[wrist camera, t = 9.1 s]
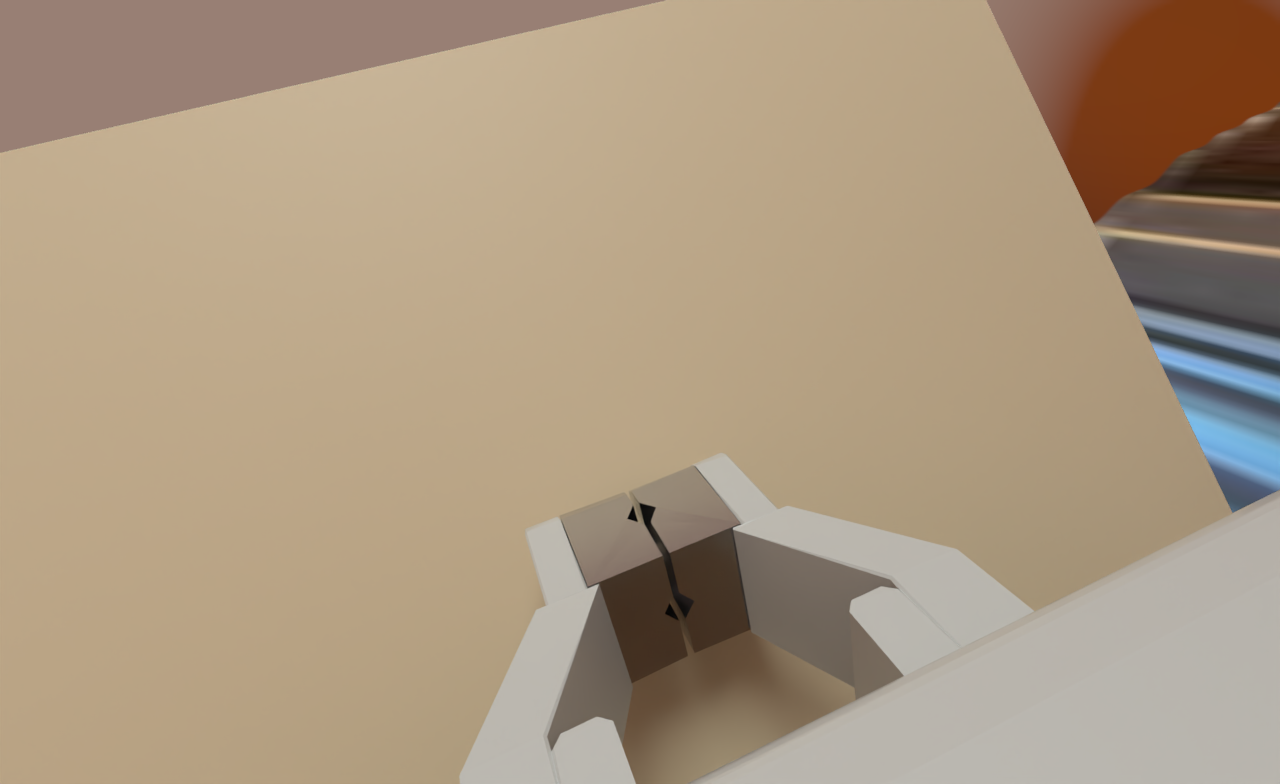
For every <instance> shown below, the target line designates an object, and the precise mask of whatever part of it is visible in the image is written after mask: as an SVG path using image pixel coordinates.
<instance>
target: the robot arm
mask: <svg viewBox="0 0 1280 784" xmlns="http://www.w3.org/2000/svg"><path fill="white" fill-rule="evenodd" d="M629 495H630V499H629V497H628V496H627V494H626V493H624V492H623V493H620V494H618V495H615V496H612V497H609V498H607V499H604V500H601V501H598V502H596V503H593V504H590V505H587V506H585V507H582V508H579V509H576V510H574V511H571V512H568V513H565V514H563V515H560V519H561V520H560V519H559V518H558V517H555V518H552V519H549V520H547V521H544V522H542V523H539V524H536V525H534V526H531V527H529V528H526V529H525V537H526V540H527V543H528V547H529V550H530V554H531V557H532V560H533V564H534V567H535V571H536V574H537V577H538V581H539V584H540V588H541V591H542V594H543V598H544V601H545V605H546V606H544V607H542V608H539V609H537V610H536V611H535V613H534V615H533V617H532V619H531V621H530V623H529V626H528V628H527V630H526V632H525V634H524V636H523V639H522V641H521V643H520V645H519V647H518V649H517V652H516V654H515V656H514V658H513V660H512V662H511V665H510V667H509V669H508V671H507V673H506V676H505V678H504V680H503V682H502V684H501V686H500V689H499V691H498V693H497V695H496V697H495V699H494V702H493V704H492V706H491V708H490V710H489V712H488V715H487V717H486V719H485V721H484V723H483V726H482V728H481V730H480V732H479V734H478V736H477V739H476V741H475V743H474V745H473V747H472V749H471V752H470V754H469V756H468V758H467V760H466V762H465V765H464V767H463V769H462V771H461V773H460V775H459V778H460V784H636V782H635V780H634V777H633V774H632V771H631V769H630V766H629V763H628V760H627V758H626V755H625V752H624V749H623V747H622V744H623V738H624V733H625V728H626V722H627V717H628V711H629V706H630V701H631V695H632V690H633V685H632V683H634V682H636V681H638V680H640V679H642V678H644V677H646V676H648V675H650V674H652V673H654V672H656V671H658V670H660V669H662V668H664V667H666V666H668V665H670V664H673V663H675V662H677V661H679V660H681V659H683V658H685V657H687V656H688V654H687V649H686V645H685V641H684V637H683V633H684V635H685V637H686V638H687V640H688V642H689V644H690V646H691V647H692V649H693V651H694V653H696V652H698V651H701V650H703V649H705V648H708V647H710V646H713V645H715V644H717V643H720V642H722V641H724V640H727V639H729V638H732V637H734V636H736V635H739V634H741V633H744V632H746V631H748V630H751V632H752V633H754V634H756V635H757V636H759V637H761V638H763V639H765V640H767V641H769V642H770V643H772V644H774V645H776V646H778V647H780V648H782V649H783V650H785V651H787V652H789V653H791V654H793V655H795V656H796V657H798V658H800V659H802V660H804V661H806V662H808V663H809V664H811V665H813V666H815V667H817V668H819V669H821V670H822V671H824V672H826V673H828V674H830V675H832V676H834V677H835V678H837V679H839V680H841V681H843V682H845V683H847V684H848V685H850V686H852V687H854V688H855V697H856V700H855V701H853V702H851V703H849V704H847V705H845V706H843V707H841V708H839V709H837V710H835V711H833V712H831V713H829V714H827V715H825V716H823V717H821V718H818V719H816V720H814V721H812V722H810V723H808V724H806V725H804V726H802V727H800V728H798V729H796V730H794V731H792V732H790V733H788V734H786V735H784V736H782V737H780V738H778V739H776V740H774V741H772V742H770V743H768V744H766V745H764V746H762V747H760V748H758V749H756V750H754V751H752V752H750V753H748V754H746V755H744V756H742V757H740V758H738V759H736V760H734V761H732V762H730V763H728V764H726V765H724V766H722V767H720V768H718V769H716V770H714V771H712V772H710V773H707V774H705V775H703V776H701V777H699V778H697V779H695V780H693V781H691V782H689V783H687V784H1280V490H1278V491H1276V492H1274V493H1272V494H1270V495H1268V496H1266V497H1264V498H1262V499H1260V500H1258V501H1256V502H1254V503H1252V504H1250V505H1248V506H1246V507H1244V508H1242V509H1240V510H1238V511H1236V512H1234V513H1232V514H1230V515H1228V516H1226V517H1224V518H1222V519H1220V520H1218V521H1216V522H1214V523H1212V524H1210V525H1208V526H1206V527H1204V528H1202V529H1200V530H1198V531H1196V532H1194V533H1192V534H1190V535H1188V536H1186V537H1184V538H1182V539H1180V540H1177V541H1175V542H1173V543H1171V544H1169V545H1167V546H1165V547H1163V548H1161V549H1159V550H1157V551H1155V552H1153V553H1151V554H1149V555H1147V556H1145V557H1143V558H1141V559H1139V560H1137V561H1135V562H1133V563H1131V564H1129V565H1127V566H1125V567H1123V568H1121V569H1119V570H1117V571H1115V572H1113V573H1111V574H1109V575H1107V576H1105V577H1103V578H1101V579H1099V580H1097V581H1095V582H1093V583H1091V584H1089V585H1087V586H1085V587H1083V588H1081V589H1079V590H1076V591H1074V592H1072V593H1070V594H1068V595H1066V596H1064V597H1062V598H1060V599H1058V600H1056V601H1054V602H1052V603H1050V604H1048V605H1046V606H1044V607H1042V608H1040V609H1038V610H1036V611H1034V610H1032V609H1031V608H1030V607H1029V606H1027V605H1026V604H1025V603H1024V602H1022V601H1021V600H1020V599H1019V598H1017V597H1016V596H1015V595H1014V594H1012V593H1011V592H1010V591H1009V590H1007V589H1006V588H1005V587H1004V586H1002V585H1001V584H1000V583H999V582H997V581H996V580H995V579H994V578H992V577H991V576H990V575H989V574H987V573H986V572H985V571H984V570H982V569H981V568H980V567H979V566H977V565H976V564H975V563H974V562H972V561H971V560H970V559H969V558H968V557H966V556H965V555H964V554H963V553H961V552H960V551H959V550H958V549H954V548H950V547H946V546H943V545H939V544H935V543H931V542H927V541H923V540H919V539H915V538H912V537H908V536H904V535H900V534H896V533H892V532H888V531H884V530H881V529H877V528H873V527H869V526H865V525H861V524H857V523H853V522H849V521H846V520H842V519H838V518H834V517H830V516H826V515H822V514H818V513H815V512H811V511H807V510H803V509H799V508H795V507H791V506H785V507H783V508H780V509H778V508H777V507H776V506H775V505H774V504H773V503H772V502H771V501H770V500H769V499H768V498H767V497H766V496H765V494H764V493H763V492H762V491H761V490H760V489H759V488H758V487H757V486H756V485H755V484H754V483H753V482H752V481H751V480H750V479H749V478H748V477H747V476H746V474H745V473H744V472H743V471H742V470H741V469H740V468H739V467H738V466H737V465H736V464H735V463H734V462H733V461H732V460H731V459H730V458H729V457H728V456H727V454H724V453H719V454H716V455H714V456H711V457H709V458H707V459H704V460H702V461H700V462H697V463H695V464H693V465H691V466H690V467H688V468H685V469H683V470H680V471H678V472H675V473H673V474H670V475H668V476H665V477H663V478H660V479H658V480H655V481H653V482H650V483H648V484H645V485H643V486H640V487H638V488H635V489H633V490H630V491H629ZM670 601H671V603H672V606H671V604H670ZM672 607H673V608H672ZM682 631H683V633H682Z"/></svg>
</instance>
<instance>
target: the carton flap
mask: <svg viewBox="0 0 1280 784" xmlns="http://www.w3.org/2000/svg"><path fill="white" fill-rule="evenodd" d="M719 453H724V454H727V456H728V457H729V458H730V459H731V460H732V461H733V462H734V463H735V464H736V465H737V466H738V467H739V468H740V469H741V470H742V471H743V472H744V473H745V474H746V476H747V477H748V478H749V479H750V480H751V481H752V482H753V483H754V484H755V485H756V486H757V487H758V488H759V489H760V490H761V491H762V492H763V493H764V494H765V496H766V497H767V498H768V499H769V500H770V501H771V502H772V503H773V504H774V505H775V506H776V507H777V508H778V509H780V508H783V507H785V506H791V507H795V508H799V509H803V510H807V511H811V512H815V513H818V514H822V515H826V516H830V517H834V518H838V519H842V520H846V521H849V522H853V523H857V524H861V525H865V526H869V527H873V528H877V529H881V530H884V531H888V532H892V533H896V534H900V535H904V536H908V537H912V538H915V539H919V540H923V541H927V542H931V543H935V544H939V545H943V546H946V547H950V548H954V549H958V550H959V551H960V552H961V553H963V554H964V555H965V556H966V557H968V558H969V559H970V560H971V561H972V562H974V563H975V564H976V565H977V566H979V567H980V568H981V569H982V570H984V571H985V572H986V573H987V574H989V575H990V576H991V577H992V578H994V579H995V580H996V581H997V582H999V583H1000V584H1001V585H1002V586H1004V587H1005V588H1006V589H1007V590H1009V591H1010V592H1011V593H1012V594H1014V595H1015V596H1016V597H1017V598H1019V599H1020V600H1021V601H1022V602H1024V603H1025V604H1026V605H1027V606H1029V607H1030V608H1031V609H1032V610H1034V611H1036V610H1038V609H1040V608H1042V607H1044V606H1046V605H1048V604H1050V603H1052V602H1054V601H1056V600H1058V599H1060V598H1062V597H1064V596H1066V595H1068V594H1070V593H1072V592H1074V591H1076V590H1079V589H1081V588H1083V587H1085V586H1087V585H1089V584H1091V583H1093V582H1095V581H1097V580H1099V579H1101V578H1103V577H1105V576H1107V575H1109V574H1111V573H1113V572H1115V571H1117V570H1119V569H1121V568H1123V567H1125V566H1127V565H1129V564H1131V563H1133V562H1135V561H1137V560H1139V559H1141V558H1143V557H1145V556H1147V555H1149V554H1151V553H1153V552H1155V551H1157V550H1159V549H1161V548H1163V547H1165V546H1167V545H1169V544H1171V543H1173V542H1175V541H1177V540H1180V539H1182V538H1184V537H1186V536H1188V535H1190V534H1192V533H1194V532H1196V531H1198V530H1200V529H1202V528H1204V527H1206V526H1208V525H1210V524H1212V523H1214V522H1216V521H1218V520H1220V519H1222V518H1224V517H1226V516H1228V515H1230V514H1232V511H1231V509H1230V507H1229V505H1228V503H1227V501H1226V499H1225V497H1224V494H1223V492H1222V490H1221V488H1220V486H1219V484H1218V482H1217V480H1216V478H1215V476H1214V474H1213V472H1212V470H1211V467H1210V465H1209V463H1208V461H1207V459H1206V457H1205V455H1204V453H1203V451H1202V449H1201V447H1200V445H1199V442H1198V440H1197V438H1196V436H1195V434H1194V432H1193V430H1192V428H1191V426H1190V424H1189V422H1188V420H1187V417H1186V415H1185V413H1184V411H1183V409H1182V407H1181V405H1180V403H1179V401H1178V399H1177V397H1176V395H1175V392H1174V390H1173V388H1172V386H1171V384H1170V382H1169V380H1168V378H1167V376H1166V374H1165V372H1164V370H1163V368H1162V365H1161V363H1160V361H1159V359H1158V357H1157V355H1156V353H1155V351H1154V349H1153V347H1152V345H1151V343H1150V340H1149V338H1148V336H1147V334H1146V332H1145V330H1144V328H1143V326H1142V324H1141V322H1140V320H1139V318H1138V315H1137V313H1136V311H1135V309H1134V307H1133V305H1132V303H1131V301H1130V299H1129V297H1128V295H1127V293H1126V290H1125V288H1124V286H1123V284H1122V282H1121V280H1120V278H1119V276H1118V274H1117V272H1116V270H1115V268H1114V266H1113V263H1112V261H1111V259H1110V257H1109V255H1108V253H1107V251H1106V249H1105V247H1104V245H1103V243H1102V241H1101V238H1100V236H1099V234H1098V232H1097V230H1096V228H1095V226H1094V224H1093V222H1092V220H1091V218H1090V216H1089V214H1088V211H1087V209H1086V207H1085V205H1084V203H1083V201H1082V199H1081V197H1080V195H1079V193H1078V191H1077V188H1076V186H1075V184H1074V182H1073V180H1072V178H1071V176H1070V174H1069V172H1068V170H1067V168H1066V166H1065V164H1064V161H1063V159H1062V157H1061V155H1060V153H1059V151H1058V149H1057V147H1056V145H1055V143H1054V141H1053V139H1052V136H1051V135H1050V132H1049V130H1048V128H1047V127H1046V124H1045V122H1044V120H1043V118H1042V116H1041V114H1040V112H1039V110H1038V107H1037V105H1036V103H1035V101H1034V99H1033V97H1032V95H1031V93H1030V91H1029V89H1028V87H1027V84H1026V82H1025V80H1024V78H1023V76H1022V74H1021V72H1020V70H1019V68H1018V66H1017V64H1016V61H1015V60H1014V57H1013V55H1012V53H1011V51H1010V49H1009V47H1008V45H1007V43H1006V41H1005V39H1004V37H1003V34H1002V32H1001V30H1000V28H999V26H998V24H997V22H996V20H995V18H994V16H993V14H992V12H991V10H990V7H989V5H988V3H987V2H986V0H666V1H662V2H657V3H653V4H648V5H644V6H640V7H635V8H631V9H627V10H622V11H618V12H614V13H609V14H605V15H600V16H596V17H592V18H587V19H583V20H578V21H574V22H570V23H565V24H561V25H557V26H553V27H548V28H544V29H539V30H535V31H530V32H526V33H522V34H517V35H513V36H509V37H504V38H500V39H496V40H492V41H487V42H482V43H478V44H474V45H469V46H465V47H461V48H457V49H452V50H447V51H443V52H439V53H435V54H430V55H426V56H422V57H417V58H413V59H408V60H404V61H399V62H395V63H391V64H387V65H383V66H378V67H373V68H369V69H365V70H360V71H356V72H352V73H347V74H343V75H338V76H334V77H330V78H326V79H321V80H317V81H312V82H308V83H303V84H299V85H295V86H290V87H286V88H282V89H278V90H273V91H268V92H264V93H260V94H255V95H251V96H247V97H242V98H238V99H234V100H229V101H225V102H220V103H216V104H212V105H208V106H203V107H199V108H194V109H190V110H186V111H181V112H177V113H173V114H168V115H164V116H160V117H155V118H151V119H146V120H142V121H138V122H133V123H129V124H125V125H120V126H116V127H111V128H107V129H103V130H98V131H94V132H89V133H85V134H81V135H76V136H72V137H68V138H64V139H59V140H54V141H50V142H46V143H41V144H37V145H33V146H28V147H24V148H20V149H15V150H11V151H6V152H2V153H0V784H460V778H459V775H460V773H461V771H462V769H463V767H464V765H465V762H466V760H467V758H468V756H469V754H470V752H471V749H472V747H473V745H474V743H475V741H476V739H477V736H478V734H479V732H480V730H481V728H482V726H483V723H484V721H485V719H486V717H487V715H488V712H489V710H490V708H491V706H492V704H493V702H494V699H495V697H496V695H497V693H498V691H499V689H500V686H501V684H502V682H503V680H504V678H505V676H506V673H507V671H508V669H509V667H510V665H511V662H512V660H513V658H514V656H515V654H516V652H517V649H518V647H519V645H520V643H521V641H522V639H523V636H524V634H525V632H526V630H527V628H528V626H529V623H530V621H531V619H532V617H533V615H534V613H535V611H536V610H537V609H539V608H542V607H544V606H546V605H545V601H544V598H543V594H542V591H541V588H540V584H539V581H538V577H537V574H536V571H535V567H534V564H533V560H532V557H531V554H530V550H529V547H528V543H527V540H526V537H525V529H526V528H529V527H531V526H534V525H536V524H539V523H542V522H544V521H547V520H549V519H552V518H555V517H558V518H559V519H560V515H563V514H565V513H568V512H571V511H574V510H576V509H579V508H582V507H585V506H587V505H590V504H593V503H596V502H598V501H601V500H604V499H607V498H609V497H612V496H615V495H618V494H620V493H623V492H624V493H626V494H627V496H628V497H629V499H630V495H629V491H630V490H633V489H635V488H638V487H640V486H643V485H645V484H648V483H650V482H653V481H655V480H658V479H660V478H663V477H665V476H668V475H670V474H673V473H675V472H678V471H680V470H683V469H685V468H688V467H690V466H691V465H693V464H695V463H697V462H700V461H702V460H704V459H707V458H709V457H711V456H714V455H716V454H719ZM560 520H561V519H560ZM670 604H671V606H672V603H671V601H670ZM672 608H673V607H672ZM682 633H683V631H682ZM683 637H684V641H685V645H686V649H687V654H688V656H687V657H685V658H683V659H681V660H679V661H677V662H675V663H673V664H670V665H668V666H666V667H664V668H662V669H660V670H658V671H656V672H654V673H652V674H650V675H648V676H646V677H644V678H642V679H640V680H638V681H636V682H634V683H632V685H633V690H632V695H631V701H630V706H629V711H628V717H627V722H626V728H625V733H624V738H623V744H622V747H623V749H624V752H625V755H626V758H627V760H628V763H629V766H630V769H631V771H632V774H633V777H634V780H635V782H636V784H687V783H689V782H691V781H693V780H695V779H697V778H699V777H701V776H703V775H705V774H707V773H710V772H712V771H714V770H716V769H718V768H720V767H722V766H724V765H726V764H728V763H730V762H732V761H734V760H736V759H738V758H740V757H742V756H744V755H746V754H748V753H750V752H752V751H754V750H756V749H758V748H760V747H762V746H764V745H766V744H768V743H770V742H772V741H774V740H776V739H778V738H780V737H782V736H784V735H786V734H788V733H790V732H792V731H794V730H796V729H798V728H800V727H802V726H804V725H806V724H808V723H810V722H812V721H814V720H816V719H818V718H821V717H823V716H825V715H827V714H829V713H831V712H833V711H835V710H837V709H839V708H841V707H843V706H845V705H847V704H849V703H851V702H853V701H855V700H856V697H855V688H854V687H852V686H850V685H848V684H847V683H845V682H843V681H841V680H839V679H837V678H835V677H834V676H832V675H830V674H828V673H826V672H824V671H822V670H821V669H819V668H817V667H815V666H813V665H811V664H809V663H808V662H806V661H804V660H802V659H800V658H798V657H796V656H795V655H793V654H791V653H789V652H787V651H785V650H783V649H782V648H780V647H778V646H776V645H774V644H772V643H770V642H769V641H767V640H765V639H763V638H761V637H759V636H757V635H756V634H754V633H752V632H751V630H748V631H746V632H744V633H741V634H739V635H736V636H734V637H732V638H729V639H727V640H724V641H722V642H720V643H717V644H715V645H713V646H710V647H708V648H705V649H703V650H701V651H698V652H696V653H694V651H693V649H692V647H691V646H690V644H689V642H688V640H687V638H686V637H685V635H684V633H683Z"/></svg>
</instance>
